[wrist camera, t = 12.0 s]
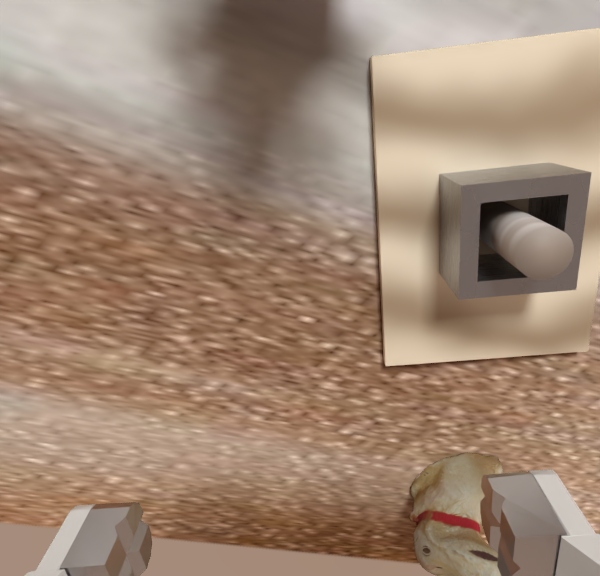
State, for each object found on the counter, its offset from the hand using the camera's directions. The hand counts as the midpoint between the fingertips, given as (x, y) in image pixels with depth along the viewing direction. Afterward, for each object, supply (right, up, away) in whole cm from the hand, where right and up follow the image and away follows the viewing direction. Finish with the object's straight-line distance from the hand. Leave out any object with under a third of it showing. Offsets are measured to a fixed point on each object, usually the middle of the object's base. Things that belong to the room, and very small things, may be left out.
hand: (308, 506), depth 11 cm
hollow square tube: (+12, +9, +17) cm, 23 cm away
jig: (+12, +10, +18) cm, 24 cm away
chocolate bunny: (+12, -11, +27) cm, 31 cm away
